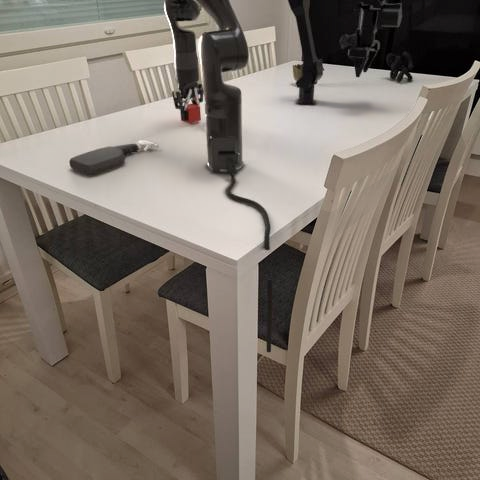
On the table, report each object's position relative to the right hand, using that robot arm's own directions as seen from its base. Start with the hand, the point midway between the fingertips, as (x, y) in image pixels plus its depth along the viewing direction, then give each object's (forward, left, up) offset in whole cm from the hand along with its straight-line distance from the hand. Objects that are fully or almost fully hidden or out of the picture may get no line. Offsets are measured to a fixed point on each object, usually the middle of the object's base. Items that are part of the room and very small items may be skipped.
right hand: (361, 74), depth 157 cm
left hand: (+17, -59, -10) cm, 62 cm away
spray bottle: (+51, -75, -12) cm, 91 cm away
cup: (-37, -19, -12) cm, 43 cm away
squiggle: (-45, +27, -12) cm, 54 cm away
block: (+17, -59, -11) cm, 62 cm away
